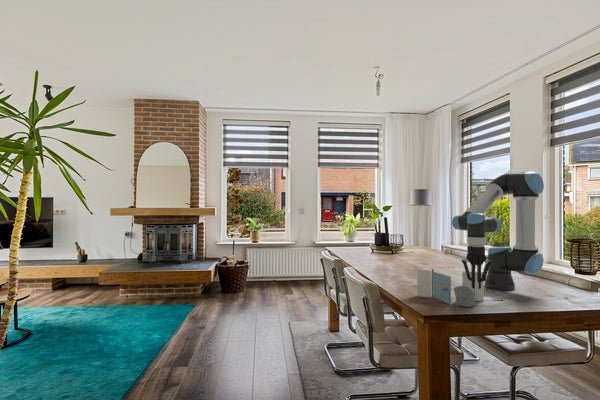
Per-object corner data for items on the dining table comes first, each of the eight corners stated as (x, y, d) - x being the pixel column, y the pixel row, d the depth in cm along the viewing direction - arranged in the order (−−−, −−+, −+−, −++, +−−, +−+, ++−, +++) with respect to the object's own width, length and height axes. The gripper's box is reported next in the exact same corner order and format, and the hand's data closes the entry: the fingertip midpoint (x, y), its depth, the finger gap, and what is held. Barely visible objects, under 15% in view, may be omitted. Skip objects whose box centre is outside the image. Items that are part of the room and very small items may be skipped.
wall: (483, 300, 172) (483, 271, 172) (483, 301, 171) (483, 271, 171) (417, 295, 181) (417, 267, 181) (417, 296, 180) (417, 268, 180)
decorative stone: (469, 310, 156) (480, 291, 158) (446, 297, 163) (456, 279, 165) (470, 317, 166) (480, 299, 168) (449, 304, 173) (458, 287, 175)
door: (430, 297, 177) (430, 271, 177) (434, 296, 177) (434, 271, 177) (445, 304, 165) (445, 276, 165) (450, 303, 165) (450, 276, 165)
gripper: (489, 245, 167) (489, 294, 167) (459, 244, 171) (459, 292, 171) (493, 247, 160) (493, 298, 160) (462, 246, 163) (462, 296, 163)
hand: (476, 295), depth 165 cm, fingers closed
